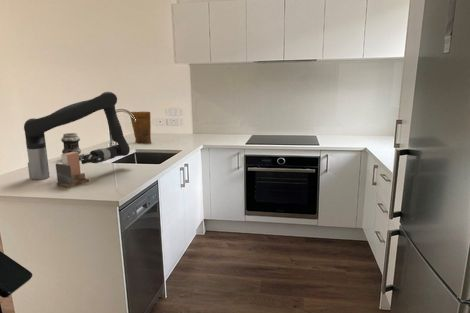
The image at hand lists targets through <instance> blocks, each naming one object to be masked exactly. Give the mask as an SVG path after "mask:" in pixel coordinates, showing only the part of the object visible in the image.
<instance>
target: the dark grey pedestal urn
mask: <svg viewBox="0 0 470 313" xmlns="http://www.w3.org/2000/svg"><path fill="white" fill-rule="evenodd" d="M60 141H61V142H62V143H63V144H62V145H63V149H62V151H61V154H65V153H70V152H78V153H79V155H81V152H82V149H81V148H80V145H79V141H81V138H80V137H79V136H78V133H76V132H67V133H66V132H65V133H63V134H62V137H61V139H60Z"/></svg>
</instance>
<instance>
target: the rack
mask: <svg viewBox="0 0 470 313" xmlns="http://www.w3.org/2000/svg"><path fill="white" fill-rule="evenodd" d="M55 171H56V180H57V182H56V186H57V187H63V188H68V189H71V188H75V187H78V186H80V185H85V184H87V183H89V182H90V179H89V178H86V173H84V172H82V173H81V174H78V175H75V176H71V167H70V165H64V164H62V163H55Z"/></svg>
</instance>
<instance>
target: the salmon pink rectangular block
mask: <svg viewBox="0 0 470 313" xmlns="http://www.w3.org/2000/svg"><path fill="white" fill-rule="evenodd" d="M79 155H80V154H79V153H78V152H70V153H65V154H63V153H61V155H60V156H61V164H64V165H70V167H71V176H75V175H78V174H82V173H81V164H80V161H79Z"/></svg>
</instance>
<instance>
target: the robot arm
mask: <svg viewBox="0 0 470 313" xmlns="http://www.w3.org/2000/svg"><path fill="white" fill-rule="evenodd" d="M117 103H118V97H117V95H116V94H115V93H113V92H112V91H105V92H102V93H101V94H100V95H97V96H95V97H94V98H93V97H92V98H91V99H86V100H84V101H79V102H75V103H71V104H69V105H66V106H64V107H62V108H59V109H57V110H55V111H54V112H52V113H51V114H48V115H45V116H42V117H37V118H35V117H34V118H28V119H27V120H26V121H25V122H24V123H23V124H24V125H23V130H24V135H25V145H26V152H27V158H28V162H27V168H28V169H27V170H28V176H29V177H28V178H29V180H35V181H38V180H45V179H48V178H50V177H51V176H50V167H49V159H48V152H47V146H46V145H47V143H46V138H45V137H46V136H45V133H46V132H48V131H50V130H53V129H54V128H57V127H61V126H64V125H68V124H70V123H73V122H77V121H79V120H81V119H84V118H85V117H86V118H87V117H88V116H90V115H92V114H94V113H96V112H99V111H101V110H103V112H104V114H105V116H106V120H107V124H108V129H109V133H110V137H111V140H112V142H115V143H117V144H115V145H112V146H108V147H104V148H97V149H93V150H91V151H89V153H86V154H84V153H83V154H79V162H81V164H82V165H84V164H88V163H89V164H98V163H103V162H106V161H108V160H112V159H114V158H117V157H126V156H128V155H129V154H130V151H131V149H130V146H129V144H128V142H127V140H126V139H125V137H124V133H123V128H122V126H121V123H120V121H119V118H118V114H117V111H116V104H117Z"/></svg>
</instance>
